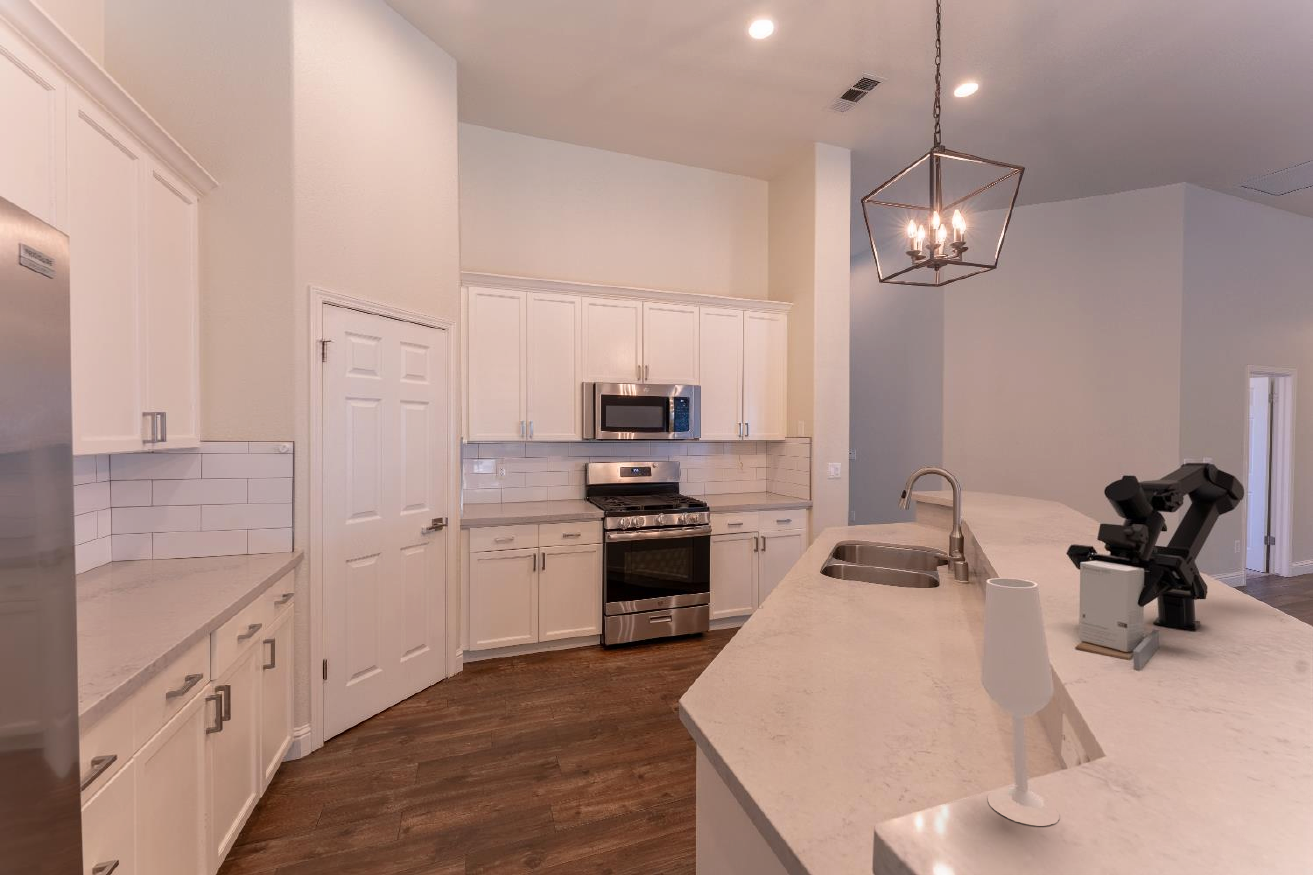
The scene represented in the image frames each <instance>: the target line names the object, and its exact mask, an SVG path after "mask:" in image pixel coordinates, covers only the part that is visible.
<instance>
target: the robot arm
mask: <svg viewBox="0 0 1313 875" xmlns="http://www.w3.org/2000/svg"><path fill="white" fill-rule="evenodd" d="M1103 493H1104V496H1105V497H1106V499H1107V501H1108V502H1109V503H1110V505H1111V507H1112V508H1113V510H1114V511H1115V513H1117V516H1119V517H1120V518H1122V519H1124V521H1123V524H1114V523H1113V524H1111V523H1100V524H1099V528H1098V533H1097V538H1096V540H1097V541H1099V542H1102V543H1103V544H1105V545H1104V547H1103V548H1104V549H1105V551H1107V552H1109V554H1103V553H1098V551H1097V550H1096V549H1095V547H1094V546H1093V545H1087V544H1086V545H1085V544H1075V543H1073V544H1071V545H1070V546H1069V547H1068V549H1067V550H1066V553H1065V554H1066V555H1067V557H1068V559H1069V560H1070V561H1071V562H1072V564H1073V565H1074V567H1075V568H1076V569H1077V570H1078V571H1080V563H1081V562H1089V561H1102V562H1109V563H1116V564H1122V565H1127V566H1132V567H1138V568H1143V569H1144V588H1143V590H1142V592H1141V594H1140V597H1139V600H1138V605H1139V606H1140V607H1143V606H1144V607H1145V606H1146V605H1148V604H1150V603H1152V601H1154V600H1156V599H1157V617H1156V618H1155V619H1154V620H1153V621H1152V622H1153V625H1156V626H1157V625H1158V626H1163V627H1169V628H1177V629H1182V630H1188V631H1197V629H1198V628H1199V627H1200V626H1201V623H1202V622H1201V621H1200V620H1196V607H1195V605H1196V604H1195V601H1198V600H1207V596H1208V585H1207V584H1206V582H1205V580H1204V579H1203V576H1201V574H1200V570H1199V569H1198V565H1197V564H1196V559H1197V557H1198V555H1199V554H1200V552H1201V550H1202V548H1203V547H1204V545H1205V543H1206V541H1207V539H1208V537H1209V535H1210V533H1211V532H1212V531H1213V528H1214V526H1215V524H1216V522H1217V520H1218V519H1219V517H1220V516H1221V515H1224V514H1226V513H1229V512H1231V511H1233V510H1235V509H1236V508H1237V506H1238V505H1239V503H1240V502H1241V501H1242V500H1243V499H1244V496H1245V487H1244V486H1243V484H1242V482H1240V481H1239V479H1238V478H1237V477H1236V476H1235V475H1233V474H1230V473H1228V472H1226V471H1223V470H1221V469H1219V468H1218V467H1217V466H1216V465H1215V464H1214V463H1210V462H1186V463H1183V464H1181V466H1180V467H1179V468H1177V469H1175V470H1174V471H1172V472H1170V473H1169V474H1166V475H1165V476H1162V477H1161V478H1159V479H1155V480H1154V479H1153V480H1144V481H1142V480H1141V481H1139V480H1138V478H1137V477H1136V475H1126V474H1125V475H1123V476H1122V478H1121V479H1118V480H1115V481H1113V482H1111V483H1110V484H1108V485H1106V486H1105V488H1104V491H1103ZM1186 495H1188V498H1189V500H1190V502H1191V503H1190V505H1189V507H1188V508H1187V510H1186V512H1185V514H1184V515H1183V518H1182V519H1181V521H1180V523H1179V525H1178V526H1177V528H1176V530H1175V531H1174V533H1173V535H1172V536H1171V539H1170V540H1169V541H1168V543H1167V545H1166V546H1164V545H1163V546H1162V545H1156V544H1157V542H1158V539H1159V536H1160V535H1161V532H1168V527H1167V524H1166V518H1165V517H1164V516H1163V514H1162V513H1172V514H1173V513H1176V512H1177V511H1178V510H1179V509H1180V508H1181V507H1182V506H1183V505H1184V497H1185V496H1186Z"/></svg>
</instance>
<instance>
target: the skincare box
mask: <svg viewBox="0 0 1313 875" xmlns="http://www.w3.org/2000/svg"><path fill="white" fill-rule="evenodd" d="M1143 588H1144V569H1143V568H1138V567H1132V566H1127V565H1122V564H1116V563H1109V562H1102V561H1089V562H1081V563H1080V570H1079V619H1078V620H1079V623H1078V624H1079V625H1078V626H1079V628H1078V638H1079V641H1080V642H1082V641H1084V642H1089V643H1093V644H1096V645H1101V646H1105V647H1109V648H1113V649H1117V650H1120V651H1123V652H1130V651H1134V650H1135V648H1136V647H1137V646H1138V645H1139V644H1140V643H1141V642H1142V641H1143V640H1144V618H1145V616H1144V615H1145V614H1144V610H1145V609H1144V608H1145V606H1143V607H1140V606H1139V605H1138V600H1139V597H1140V594H1141V592H1142V590H1143Z"/></svg>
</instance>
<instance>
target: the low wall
mask: <svg viewBox="0 0 1313 875" xmlns="http://www.w3.org/2000/svg"><path fill="white" fill-rule="evenodd" d="M1160 647H1161V640H1160V630H1159V629H1154V628H1153V629H1152V630H1151V632H1150V633H1149V634H1147V635H1146V637H1145V638H1143V641H1142V642H1141V643H1140V644H1139V645H1138V646H1137V647H1136V648H1135V650H1134V651H1133V657H1132V660H1133V670H1136V671H1141V670H1142V669H1143V668H1144V666H1145V665H1146V664H1147V663H1148V661H1149V660H1150V659H1151V658H1152V657H1153V656H1154V654H1155V653H1156V652H1157V651H1158V650H1159V649H1160Z"/></svg>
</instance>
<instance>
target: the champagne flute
mask: <svg viewBox="0 0 1313 875" xmlns="http://www.w3.org/2000/svg"><path fill="white" fill-rule="evenodd" d="M985 586H986V587H985V588H986V589H985V600H984V602H985V603H984V604H985V606H984V621H983V622H984V623H983V639H982V656H981V674H980V675H981V676H980V681H981V685H982V687H983V689H984V690H985V692H986V693H987V694H988V696H989V697H990V698H991V700H993V702H995V703H996V704H997V705H998V707H999V708H1001V709H1002V710H1003V711H1004V712H1005V713H1007V714H1009V715H1010V716H1011V727H1012V730H1011V731H1012V747H1013V765H1014V767H1013V768H1014V769H1013V770H1014V772H1013V773H1014V786H1012V788H1010V787H1008V788H1009V791H1006V792H1005V793H1004V794H1007V795H1010V796H1012V800H1013V801H1015V802H1016V803H1019V804H1020V805H1023V806H1027V807H1028V806H1030V807H1033V808H1041V807H1043V806H1044V803H1043V801H1044V800H1043V799H1044V798H1043V797H1041V796H1040V797H1039V795H1038V794H1037V793H1035V792H1033V791H1031V790H1029V785H1028V784H1029V781H1028V780H1029V779H1028V764H1027V763H1028V761H1027V759H1028V758H1027V744H1026V743H1027V740H1026V725H1025V724H1026V722H1025V720H1026V719H1025V718H1029V717H1031V716H1033V715H1034V714H1036V713H1037V712H1039V711H1041V710H1042V709H1044V708H1045V707H1046V706H1047V705H1048V704H1049V703H1050V701H1051V700H1052V698H1053V696H1054V694H1055V693H1054V692H1055V686H1054V682H1053V676H1052V669H1051V662H1050V655H1049V650H1048V643H1047V636H1046V631H1045V625H1044V624H1045V623H1044V618H1043V612H1042V605H1041V598H1040V597H1041V596H1040V593H1039V592H1040V591H1039V585H1038V583H1036V582H1035V581H1031V580H1026V579H1021V578H1013V577H995V578H989V579H986V585H985ZM1015 785H1017V786H1015ZM1006 790H1007V789H1006ZM1003 791H1005V790H1003ZM1042 798H1043V799H1042Z"/></svg>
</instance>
